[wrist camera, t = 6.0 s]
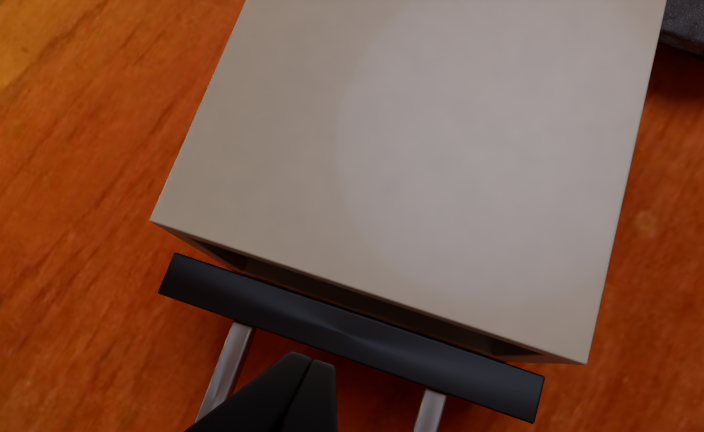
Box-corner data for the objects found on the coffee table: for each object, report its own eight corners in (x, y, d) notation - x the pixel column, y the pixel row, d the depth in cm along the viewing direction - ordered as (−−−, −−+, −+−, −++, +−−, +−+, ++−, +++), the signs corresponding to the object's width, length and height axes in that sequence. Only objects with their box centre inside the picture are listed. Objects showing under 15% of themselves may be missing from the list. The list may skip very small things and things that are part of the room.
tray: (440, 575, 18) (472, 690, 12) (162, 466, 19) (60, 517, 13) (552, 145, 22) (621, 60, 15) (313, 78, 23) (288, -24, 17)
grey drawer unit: (507, 362, 20) (587, 365, 13) (230, 269, 22) (148, 220, 14) (574, 100, 23) (674, -32, 15) (323, 32, 25) (297, -119, 17)
